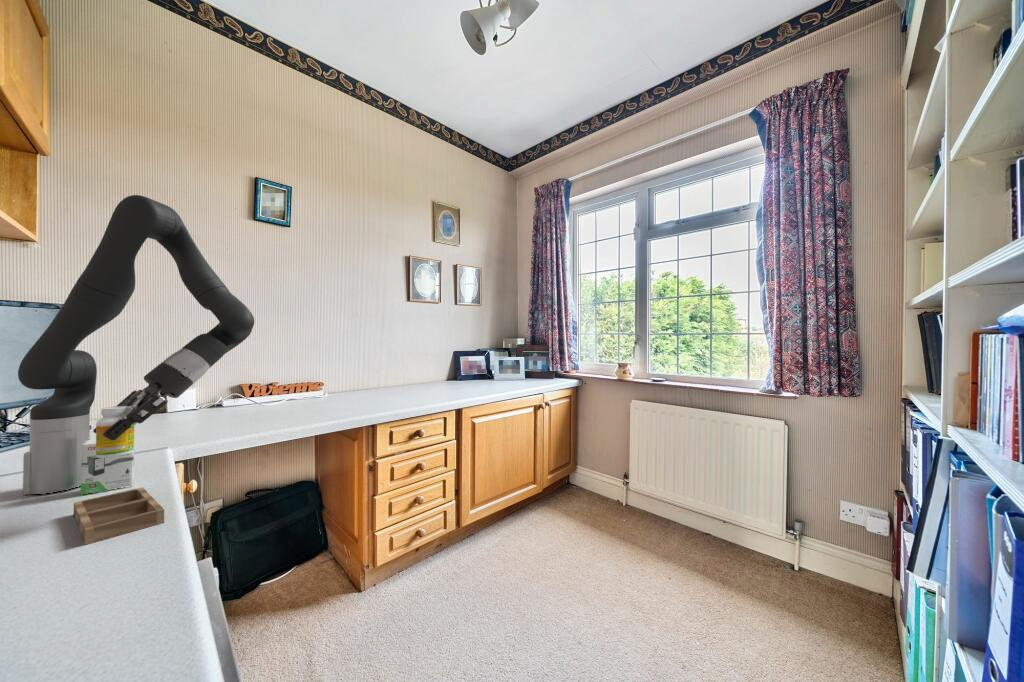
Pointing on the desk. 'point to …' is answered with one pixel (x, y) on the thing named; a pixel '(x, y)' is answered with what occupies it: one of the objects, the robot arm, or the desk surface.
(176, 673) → the desk surface
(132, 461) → the ink box
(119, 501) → the organizer
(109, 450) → the supplement bottle
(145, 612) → the desk surface
